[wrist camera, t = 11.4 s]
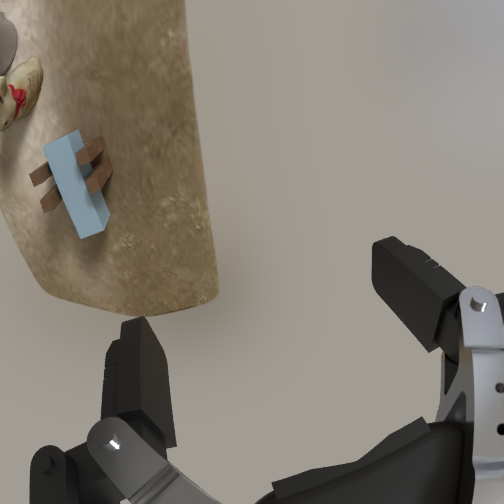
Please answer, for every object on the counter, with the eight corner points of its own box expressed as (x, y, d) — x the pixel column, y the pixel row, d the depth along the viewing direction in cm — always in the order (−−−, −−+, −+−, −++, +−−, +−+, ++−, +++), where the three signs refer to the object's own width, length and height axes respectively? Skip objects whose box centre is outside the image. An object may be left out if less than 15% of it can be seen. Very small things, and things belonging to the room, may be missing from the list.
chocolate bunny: (-5, 103, 26) (-48, 112, 17) (33, 52, 25) (-5, 45, 16) (20, 128, 29) (-20, 144, 20) (59, 78, 27) (25, 77, 19)
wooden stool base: (53, 157, 32) (29, 174, 25) (102, 136, 32) (86, 148, 26) (65, 188, 34) (44, 212, 27) (113, 169, 35) (100, 189, 28)
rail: (56, 139, 29) (42, 146, 25) (78, 129, 29) (67, 135, 26) (88, 222, 35) (80, 239, 31) (110, 214, 35) (104, 230, 31)
